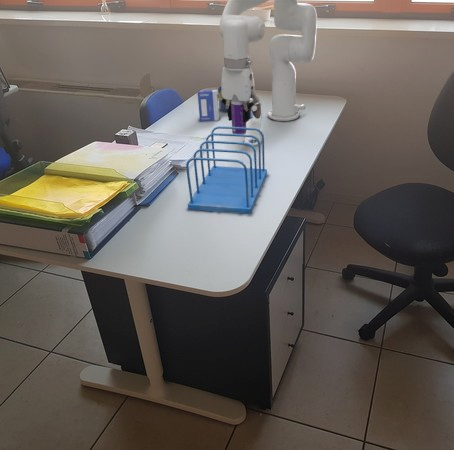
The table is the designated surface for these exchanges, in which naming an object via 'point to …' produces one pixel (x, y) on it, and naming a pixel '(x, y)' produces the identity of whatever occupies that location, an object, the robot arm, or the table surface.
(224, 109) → the coffee mug
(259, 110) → the beer glass
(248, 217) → the table surface
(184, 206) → the table surface
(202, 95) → the blue white carton
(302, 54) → the robot arm
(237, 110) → the container
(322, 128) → the table surface
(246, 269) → the table surface
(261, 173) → the file sorter
